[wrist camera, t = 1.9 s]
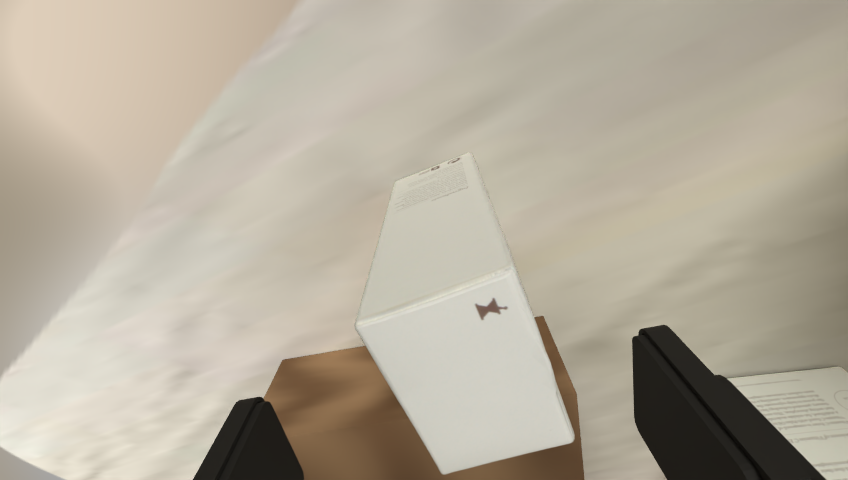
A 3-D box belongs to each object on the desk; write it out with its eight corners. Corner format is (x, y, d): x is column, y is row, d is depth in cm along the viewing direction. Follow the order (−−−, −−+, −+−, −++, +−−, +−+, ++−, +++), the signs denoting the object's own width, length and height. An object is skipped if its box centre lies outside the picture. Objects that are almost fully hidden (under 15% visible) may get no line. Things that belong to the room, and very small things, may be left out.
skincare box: (391, 181, 21) (345, 321, 10) (471, 148, 20) (519, 261, 9) (435, 279, 23) (439, 482, 12) (509, 253, 22) (584, 444, 11)
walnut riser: (543, 316, 24) (576, 394, 18) (564, 495, 30) (594, 593, 25) (282, 359, 25) (241, 443, 20) (355, 521, 32) (339, 618, 26)
